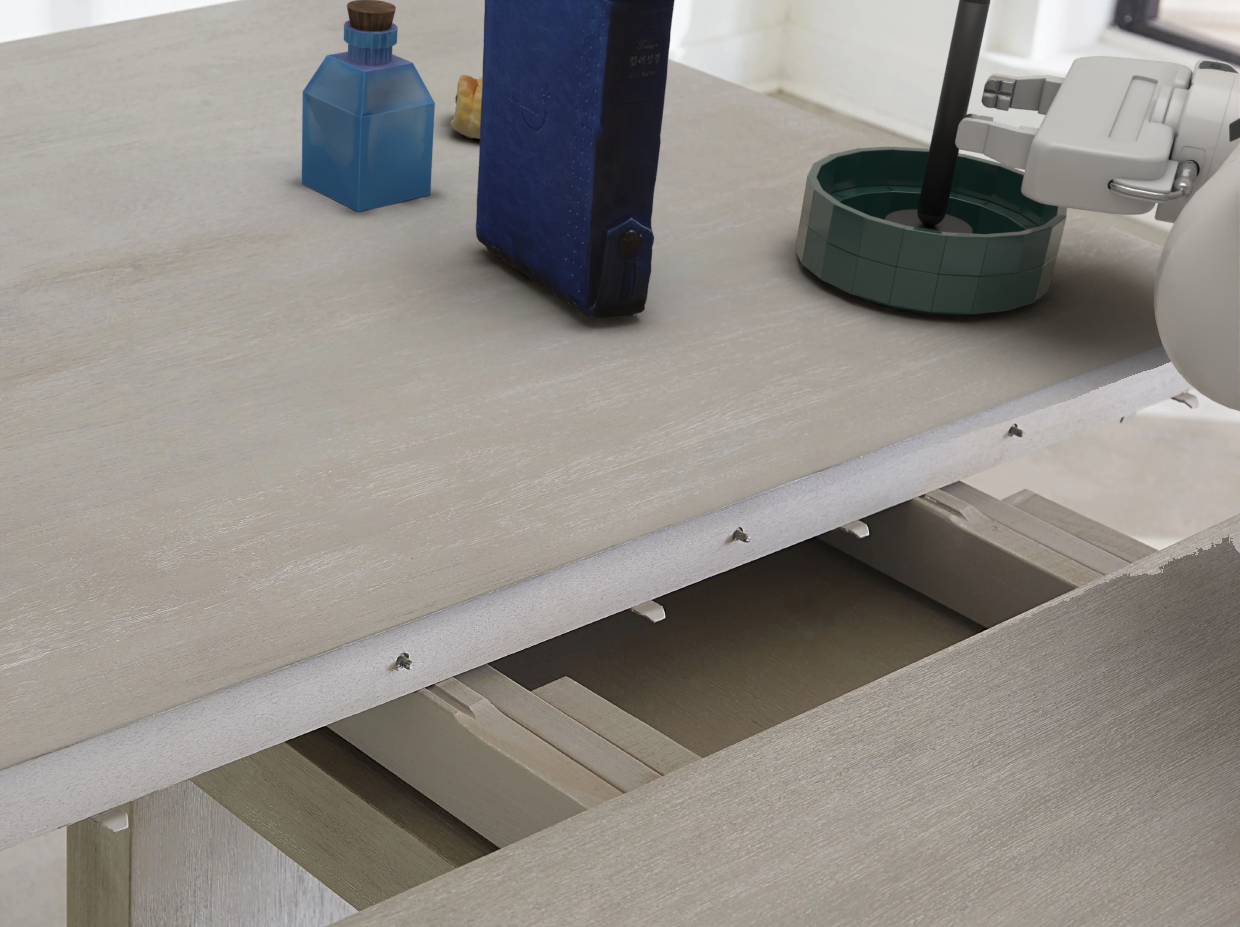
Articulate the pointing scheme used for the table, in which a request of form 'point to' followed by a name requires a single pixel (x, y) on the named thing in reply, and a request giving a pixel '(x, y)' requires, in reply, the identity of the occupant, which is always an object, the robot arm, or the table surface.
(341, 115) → the perfume bottle
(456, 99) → the pastry
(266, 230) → the table surface
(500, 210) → the book
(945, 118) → the black stand
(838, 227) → the bowl
